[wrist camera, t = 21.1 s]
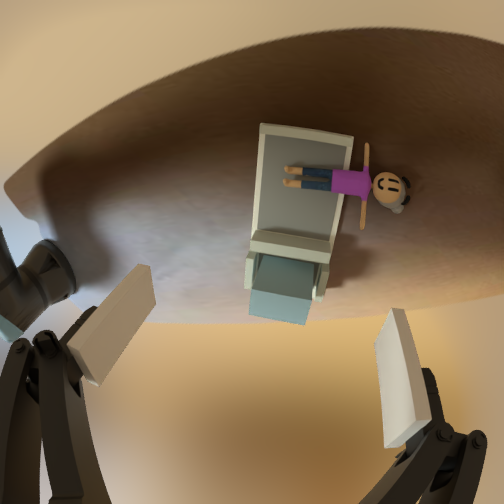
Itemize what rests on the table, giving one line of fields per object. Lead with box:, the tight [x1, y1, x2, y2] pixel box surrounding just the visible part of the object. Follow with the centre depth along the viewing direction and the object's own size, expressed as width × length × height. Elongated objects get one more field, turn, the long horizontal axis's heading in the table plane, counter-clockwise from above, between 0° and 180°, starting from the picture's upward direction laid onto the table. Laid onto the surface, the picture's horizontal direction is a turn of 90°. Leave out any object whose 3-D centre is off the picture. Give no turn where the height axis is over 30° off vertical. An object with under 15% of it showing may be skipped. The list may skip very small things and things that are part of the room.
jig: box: [244, 123, 354, 302], centre depth 34 cm, size 11×24×4 cm, turn 176°
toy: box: [283, 143, 411, 230], centre depth 30 cm, size 10×6×15 cm
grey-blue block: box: [249, 255, 314, 325], centre depth 36 cm, size 7×4×8 cm, turn 85°
